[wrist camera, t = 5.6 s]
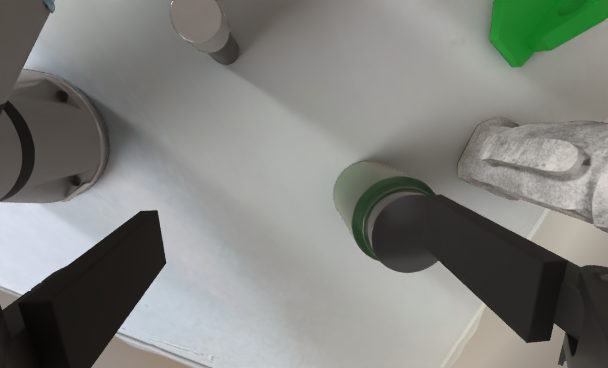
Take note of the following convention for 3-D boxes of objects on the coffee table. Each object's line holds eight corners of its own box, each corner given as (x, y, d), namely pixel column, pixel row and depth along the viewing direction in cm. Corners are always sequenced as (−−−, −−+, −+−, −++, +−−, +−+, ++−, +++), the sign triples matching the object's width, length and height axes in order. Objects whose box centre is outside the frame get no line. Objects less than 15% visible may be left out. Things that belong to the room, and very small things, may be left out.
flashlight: (208, 67, 34) (171, 42, 23) (206, 31, 34) (167, -14, 22) (242, 68, 35) (222, 43, 24) (241, 32, 34) (220, -12, 23)
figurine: (524, 207, 41) (877, 334, 17) (438, 172, 39) (692, 258, 15) (560, 142, 39) (1011, 178, 15) (471, 103, 37) (822, 70, 13)
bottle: (332, 225, 40) (357, 283, 26) (334, 160, 38) (363, 184, 24) (396, 224, 40) (456, 281, 26) (401, 160, 38) (469, 184, 24)
